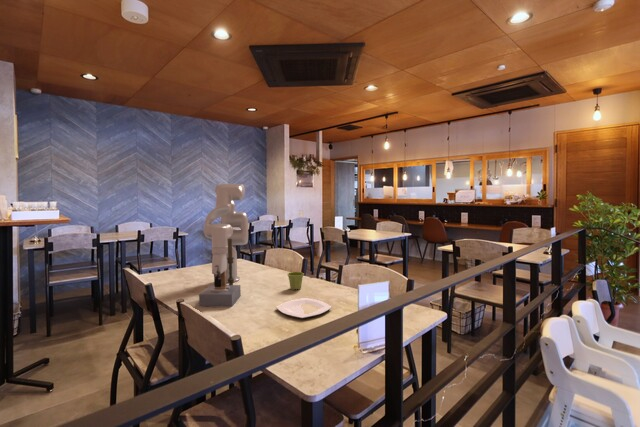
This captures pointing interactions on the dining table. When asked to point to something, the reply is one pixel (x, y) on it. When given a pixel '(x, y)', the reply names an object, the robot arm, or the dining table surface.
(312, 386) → the dining table surface
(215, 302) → the grey slotted base block
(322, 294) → the dining table surface
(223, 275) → the tan upright bar
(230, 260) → the candlestick holder
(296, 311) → the plate
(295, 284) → the plant pot
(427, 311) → the dining table surface
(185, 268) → the dining table surface
